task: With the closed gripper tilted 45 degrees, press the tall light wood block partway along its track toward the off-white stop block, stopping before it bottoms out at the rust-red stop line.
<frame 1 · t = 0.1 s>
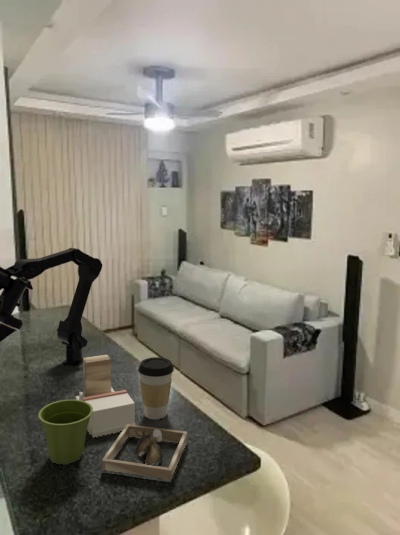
light wood block: (96, 377, 123), point 7 cm above the counter, slide at 0.0 cm
key housing: (97, 402, 124), on the counter
eagle figurine: (147, 458, 98), resting in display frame
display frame: (147, 457, 98), on the counter
coffee cup: (155, 414, 118), on the counter
plant pot: (67, 457, 97), on the counter
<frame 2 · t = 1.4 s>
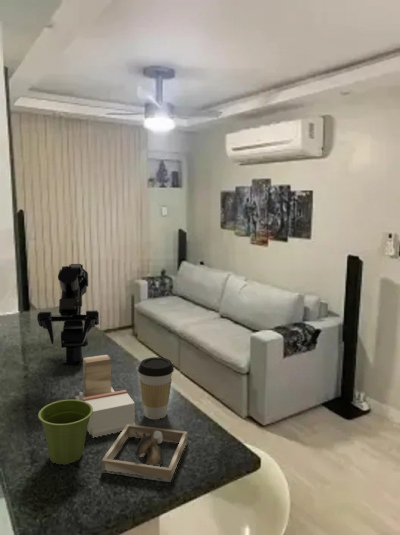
hand: (67, 343, 132), 14 cm above the counter, tool tilted 40°, fingers open, 9 cm apart
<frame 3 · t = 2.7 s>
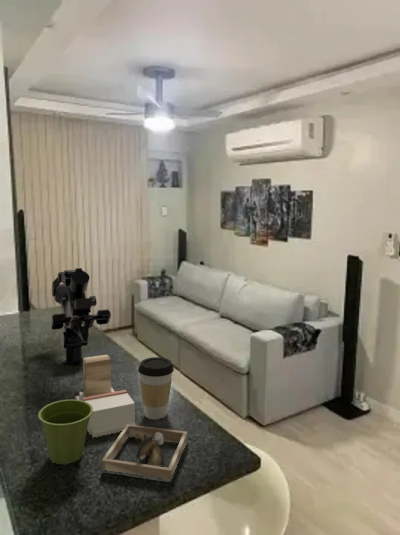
hand: (85, 342, 135), 14 cm above the counter, tool tilted 45°, fingers closed
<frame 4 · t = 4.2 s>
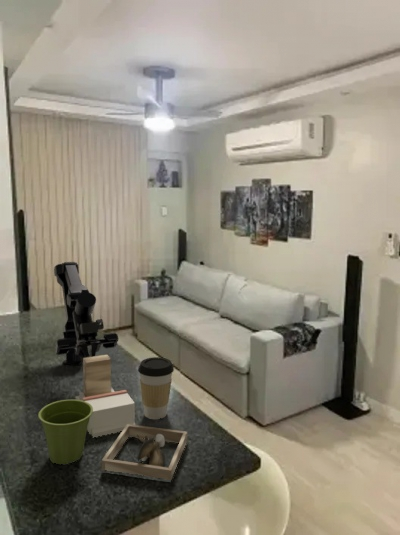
hand: (92, 368, 128), 8 cm above the counter, tool tilted 45°, fingers closed
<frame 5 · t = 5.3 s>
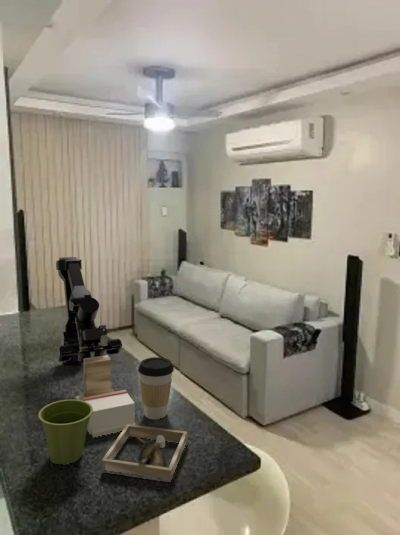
hand: (95, 375, 125), 7 cm above the counter, tool tilted 45°, fingers closed, pressing on light wood block
light wood block: (97, 378, 122), point 7 cm above the counter, slide at 0.5 cm, touching gripper
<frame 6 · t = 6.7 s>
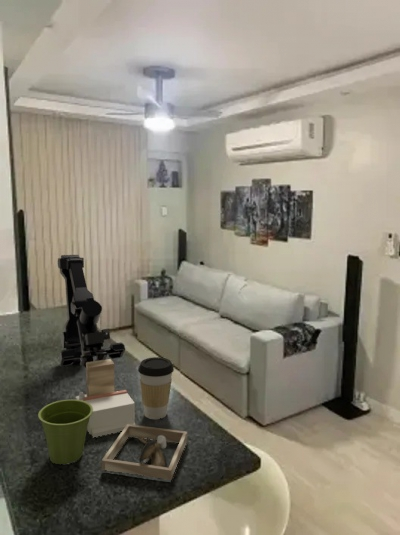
hand: (97, 380, 122), 7 cm above the counter, tool tilted 45°, fingers closed
light wood block: (100, 382, 120), point 7 cm above the counter, slide at 3.8 cm
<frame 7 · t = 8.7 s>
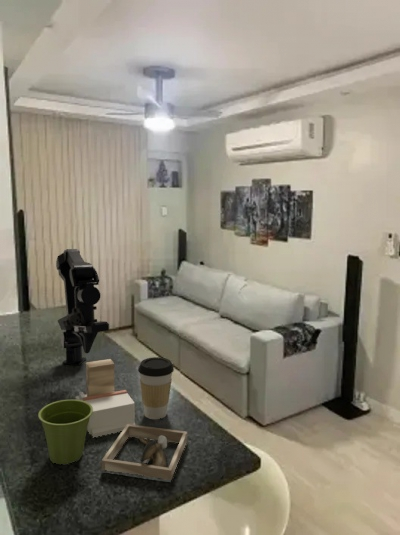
hand: (87, 352, 134), 11 cm above the counter, tool pointing down, fingers closed
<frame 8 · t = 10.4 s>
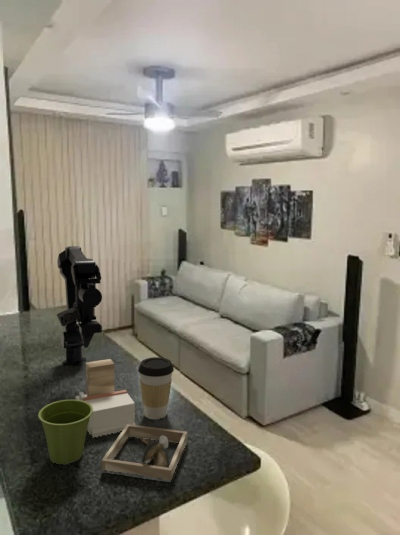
hand: (85, 347, 135), 12 cm above the counter, tool pointing down, fingers closed
at the end: light wood block slide at 3.8 cm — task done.
